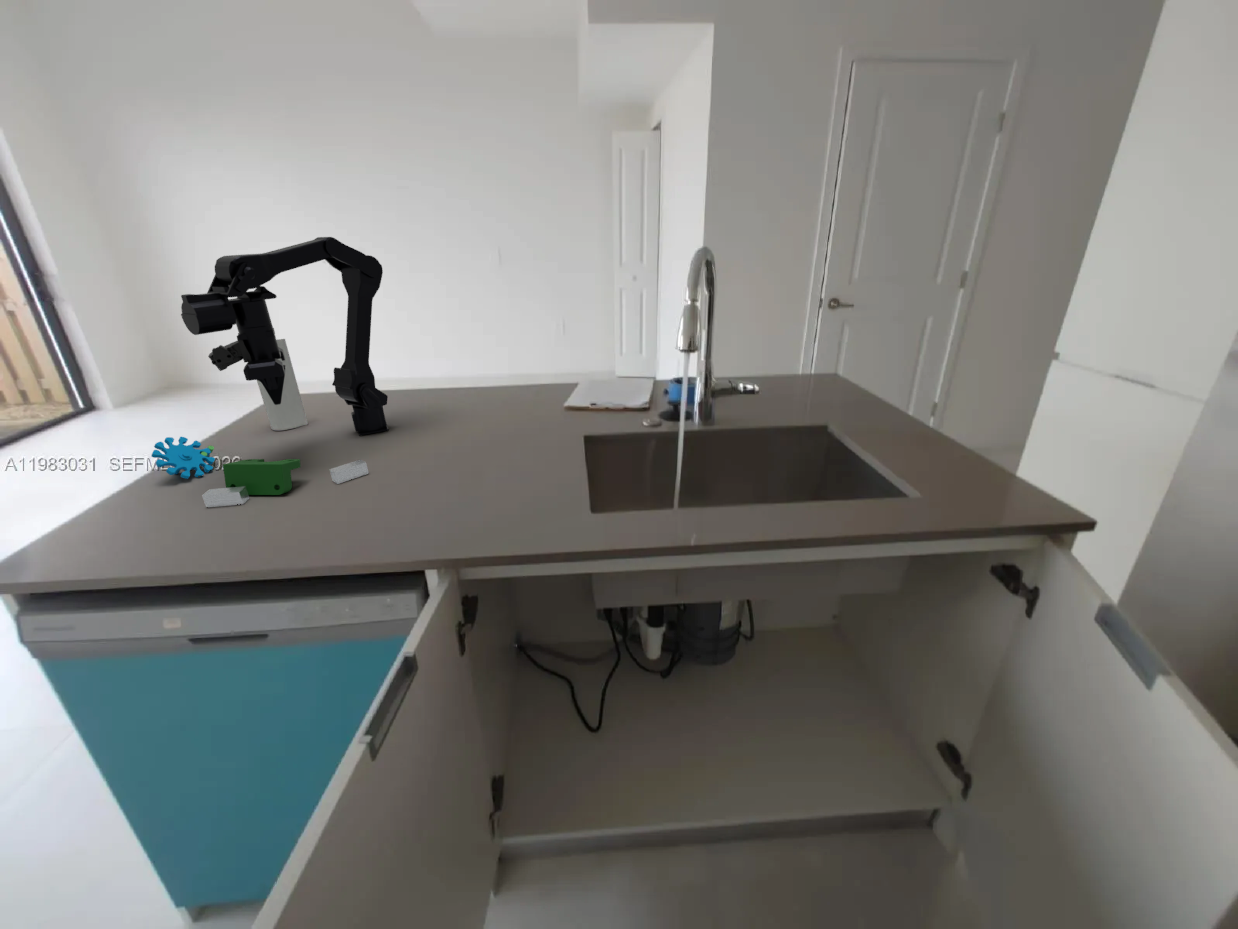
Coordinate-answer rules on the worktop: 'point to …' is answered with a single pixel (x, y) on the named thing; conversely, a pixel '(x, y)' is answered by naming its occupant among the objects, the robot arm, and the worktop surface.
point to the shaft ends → (241, 495)
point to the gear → (183, 457)
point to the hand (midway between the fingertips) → (277, 404)
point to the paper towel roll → (285, 399)
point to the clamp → (261, 475)
